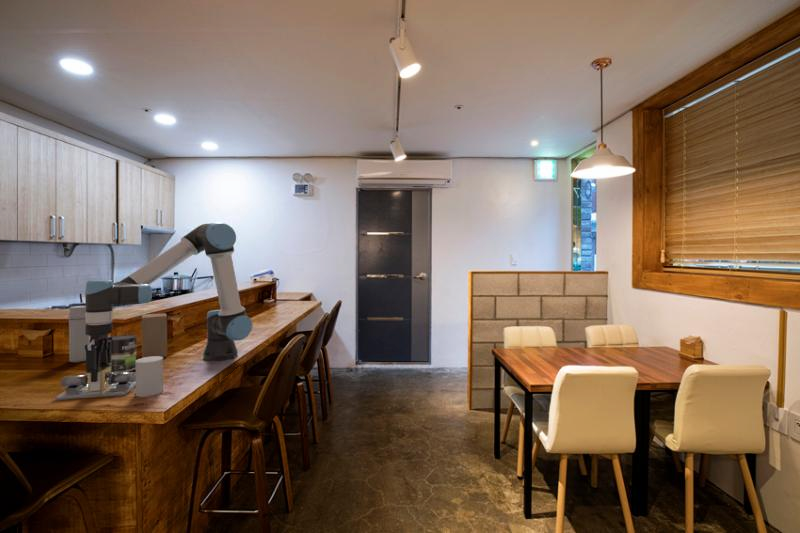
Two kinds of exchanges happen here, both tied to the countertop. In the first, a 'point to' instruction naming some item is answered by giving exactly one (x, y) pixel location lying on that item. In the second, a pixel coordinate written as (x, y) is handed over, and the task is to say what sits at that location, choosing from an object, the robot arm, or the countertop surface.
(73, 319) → the water bottle
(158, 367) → the cup
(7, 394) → the countertop surface
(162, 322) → the wooden block
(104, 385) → the coupler
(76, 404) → the countertop surface
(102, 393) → the shaft bed
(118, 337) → the coffee can
